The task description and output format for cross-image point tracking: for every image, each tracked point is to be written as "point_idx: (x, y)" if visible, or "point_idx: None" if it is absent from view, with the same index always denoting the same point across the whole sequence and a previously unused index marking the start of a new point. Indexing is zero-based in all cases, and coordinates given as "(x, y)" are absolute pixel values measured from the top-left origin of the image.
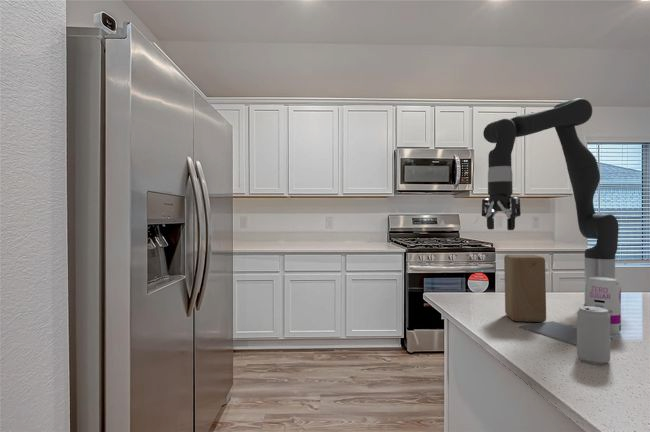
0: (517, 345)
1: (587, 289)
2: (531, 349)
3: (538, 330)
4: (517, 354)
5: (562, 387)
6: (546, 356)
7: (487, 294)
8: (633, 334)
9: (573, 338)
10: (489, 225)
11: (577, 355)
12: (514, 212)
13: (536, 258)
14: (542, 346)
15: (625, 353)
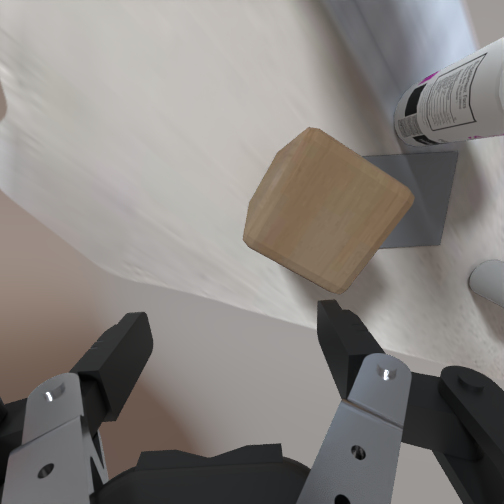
0: (393, 318)
1: (474, 132)
2: (414, 313)
3: None
4: (416, 341)
5: (499, 365)
6: (441, 315)
7: (23, 74)
8: None
9: (422, 222)
10: (141, 364)
11: (475, 292)
12: (487, 473)
13: (396, 224)
14: (414, 291)
15: (500, 206)
